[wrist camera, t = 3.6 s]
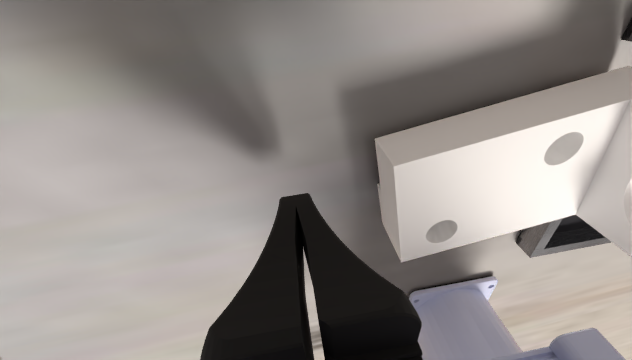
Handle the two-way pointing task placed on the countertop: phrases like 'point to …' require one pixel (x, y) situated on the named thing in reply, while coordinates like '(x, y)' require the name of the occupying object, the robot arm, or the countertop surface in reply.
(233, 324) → the robot arm
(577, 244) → the trap pits
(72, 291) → the countertop surface
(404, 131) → the bracket
